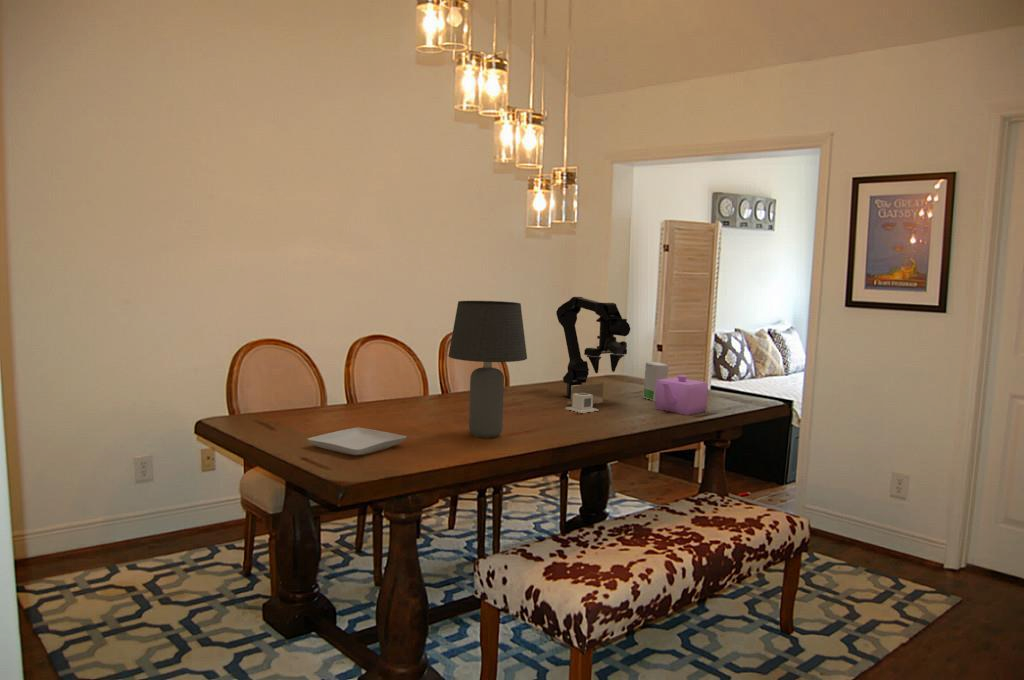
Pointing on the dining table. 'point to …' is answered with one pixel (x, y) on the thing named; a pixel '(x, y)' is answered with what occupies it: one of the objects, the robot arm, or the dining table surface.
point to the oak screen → (589, 391)
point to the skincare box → (653, 378)
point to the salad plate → (357, 441)
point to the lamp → (487, 356)
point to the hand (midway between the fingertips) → (604, 372)
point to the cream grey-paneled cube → (582, 401)
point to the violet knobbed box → (681, 395)
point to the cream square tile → (581, 410)
